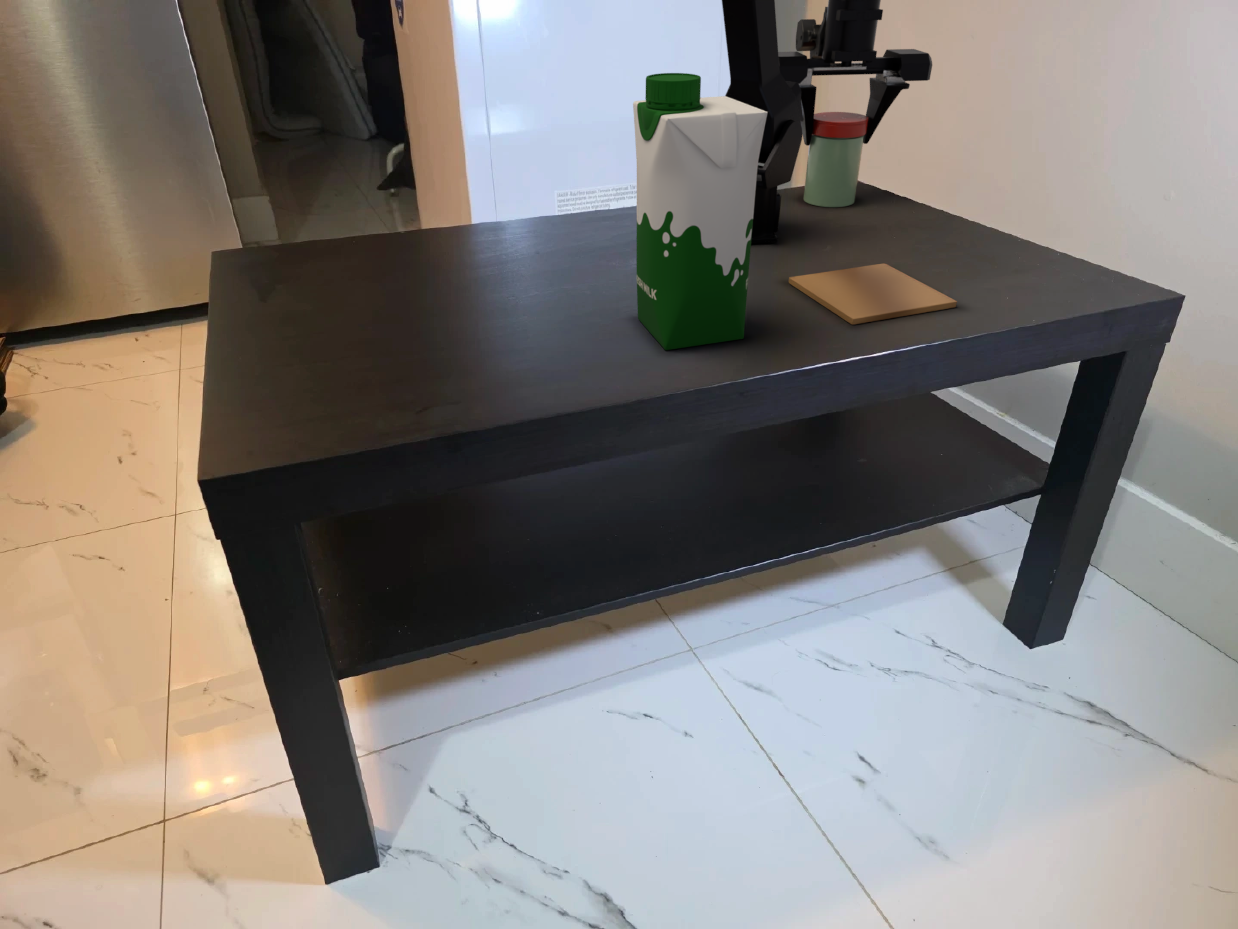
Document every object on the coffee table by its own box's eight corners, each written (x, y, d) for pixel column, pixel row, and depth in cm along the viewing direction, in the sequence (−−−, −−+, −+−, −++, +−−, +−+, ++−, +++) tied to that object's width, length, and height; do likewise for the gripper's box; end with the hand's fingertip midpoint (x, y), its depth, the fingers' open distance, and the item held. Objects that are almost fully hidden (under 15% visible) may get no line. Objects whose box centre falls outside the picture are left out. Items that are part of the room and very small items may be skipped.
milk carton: (624, 316, 73) (623, 70, 62) (717, 304, 75) (732, 64, 64) (658, 357, 66) (663, 87, 55) (760, 341, 68) (784, 79, 57)
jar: (811, 208, 101) (820, 126, 95) (797, 194, 106) (805, 116, 101) (861, 206, 101) (873, 125, 96) (845, 192, 106) (855, 115, 101)
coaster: (852, 325, 71) (853, 318, 70) (788, 282, 79) (788, 276, 79) (956, 307, 74) (957, 301, 73) (883, 268, 82) (884, 262, 82)
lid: (817, 138, 96) (819, 122, 95) (801, 127, 102) (803, 112, 101) (874, 137, 96) (876, 121, 96) (855, 125, 102) (857, 110, 101)
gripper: (907, -8, 99) (886, 128, 107) (756, -6, 97) (746, 132, 106) (946, -2, 89) (919, 147, 98) (780, 1, 88) (767, 151, 97)
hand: (835, 143), depth 100 cm, fingers open, 7 cm apart
